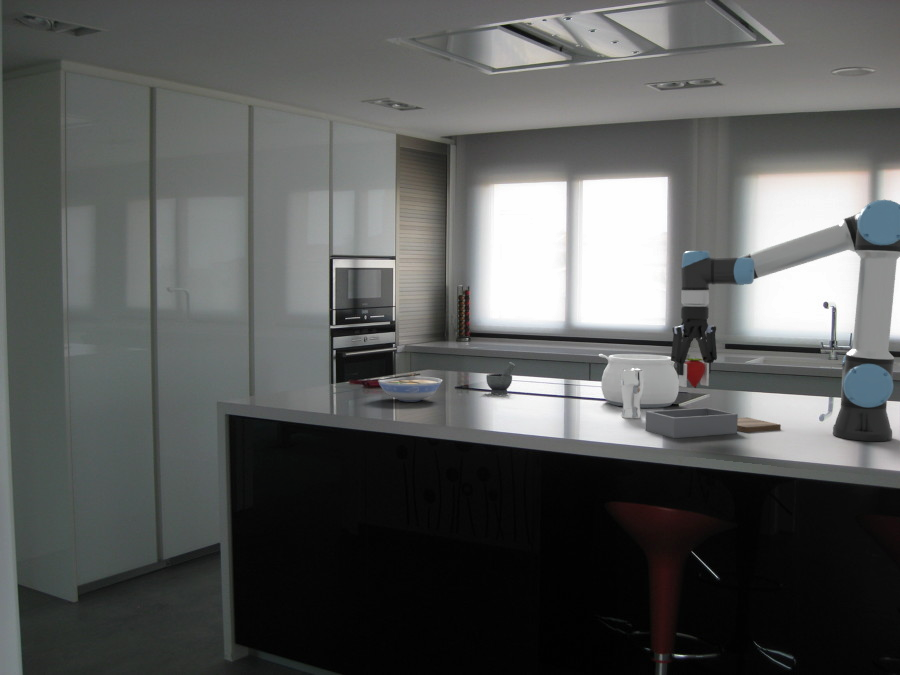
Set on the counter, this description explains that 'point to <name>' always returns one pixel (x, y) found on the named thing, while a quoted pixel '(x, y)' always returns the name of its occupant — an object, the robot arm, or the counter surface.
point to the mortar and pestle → (500, 380)
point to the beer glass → (631, 392)
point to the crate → (691, 422)
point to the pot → (656, 379)
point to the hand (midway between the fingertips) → (693, 385)
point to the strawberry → (695, 370)
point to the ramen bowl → (409, 386)
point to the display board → (755, 425)
